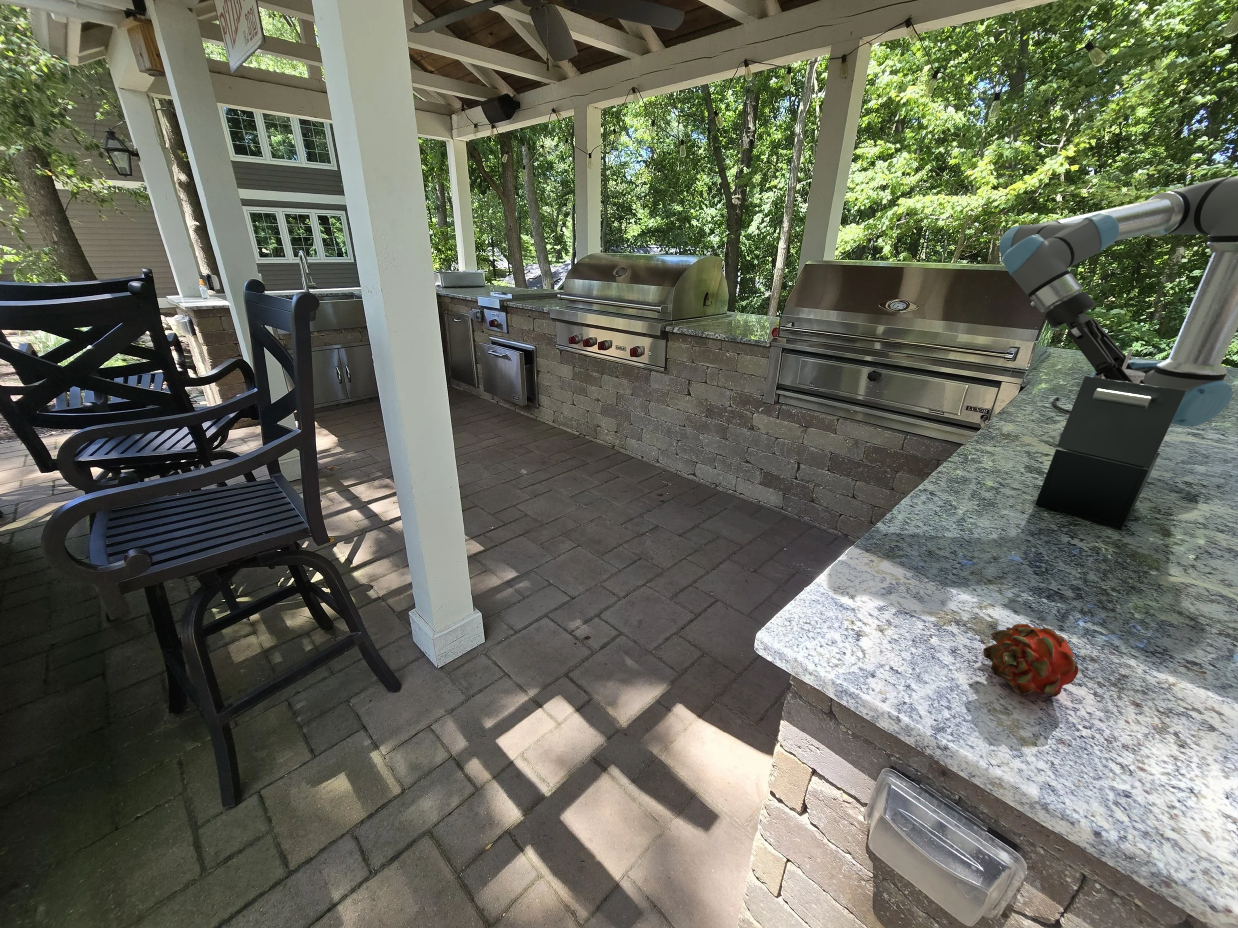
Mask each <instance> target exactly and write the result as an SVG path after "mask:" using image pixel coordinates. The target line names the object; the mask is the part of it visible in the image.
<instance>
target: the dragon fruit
mask: <svg viewBox="0 0 1238 928" xmlns="http://www.w3.org/2000/svg"><path fill="white" fill-rule="evenodd" d="M990 636H991V638H992V640H993V641H994V642H995V643H993V644H991V645H989V646H987V647H984V648H983V657H984V659H988V660H989V661H990V662H991V666H990V669H991V672H992V673H993V675H994V676H996V677H998V678H1000V679H1002V680H1004V681H1005V682H1006V683H1007V684H1008V685H1010V686H1011V687H1012V691H1013V692H1015V693H1017V694H1020V695H1029V694H1032V693H1033V692H1034V691H1035V692H1037V693H1038V694H1040V695H1047V697H1048V698H1056V697H1057V696H1059V695H1061V693H1062V690H1063V687H1064V686H1066V685H1069V684H1071V683H1073V682H1074V680H1075V679H1076V677H1077V676H1078V674H1079V666H1078V664H1077V661H1076V660H1075V659H1074V657H1075V656H1074V653H1073V651H1072V649H1071V647H1070V645H1069V642H1068V641H1067V640H1066V639H1065V638H1064V636H1063V635H1059V634H1058V633H1057V632H1055V630H1053V629H1052V628H1050V627H1042V628H1039V627H1037V626H1035V627H1032V626H1031V625H1029V623H1016V624H1013V625H1012V626H1011V627H1006V628H1005V629H997V630H994V631H993V632H991V634H990Z"/></svg>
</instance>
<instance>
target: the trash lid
mask: <svg viewBox="0 0 1238 928" xmlns="http://www.w3.org/2000/svg"><path fill="white" fill-rule="evenodd" d="M1185 393H1186V390H1180V389H1173V388H1166V387H1159V386H1152V385H1145V384H1138V383H1131V382H1124V381H1117V380H1110V379H1103V378H1096V377H1093V376H1089V375H1085V376H1084V377H1083V380H1082V382H1081V385H1080V387H1079V390H1078V391H1077V394H1076V396H1075V400H1074V402H1073V404H1072V407H1071V410H1070V411H1071V412H1070V413H1068V414H1069V415H1068V417H1067V420H1066V422H1065V424H1064V427H1063V429H1062V431H1061V435H1060V436H1059V439H1058V442H1057V444H1056V448H1063V449H1067V450H1071V451H1076V452H1080V453H1085V454H1089V455H1093V456H1098V457H1102V458H1106V459H1111V460H1115V461H1120V462H1124V463H1128V464H1133V465H1137V466H1141V467H1146V468H1150V467H1151V465H1152V463H1153V461H1154V458H1155V456H1156V454H1157V452H1158V453H1159V450H1160V448H1161V446H1162V444H1163V441H1164V439H1165V437H1166V435H1167V433H1168V431H1169V428H1170V427H1171V425H1172V424H1171V422H1172V420H1173V418H1174V416H1175V414H1176V412H1177V410H1178V408H1179V406H1180V403H1181V401H1182V399H1183V397H1184V395H1185Z"/></svg>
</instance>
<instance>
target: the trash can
mask: <svg viewBox="0 0 1238 928" xmlns="http://www.w3.org/2000/svg"><path fill="white" fill-rule="evenodd" d="M1159 456H1160V452H1159V451H1158V452H1157V454H1156V456H1155V458H1154V461H1153V463H1152V465H1151V467H1150V468H1146V467H1141V466H1137V465H1133V464H1128V463H1124V462H1120V461H1115V460H1111V459H1106V458H1102V457H1098V456H1093V455H1089V454H1085V453H1080V452H1076V451H1071V450H1067V449H1063V448H1058V447H1056V449H1055V451H1054V453H1053V456H1052V459H1051V460H1050V464H1049V467H1048V469H1047V471H1046V475H1045V476H1044V480H1043V482H1042V485H1041V487H1040V490H1039V493H1038V495H1037V498H1036V501H1035V502H1034V503H1035V506H1039V507H1042V508H1044V509H1048V510H1052V511H1055V512H1057V513H1061V514H1065V515H1068V516H1072V517H1076V518H1078V519H1082V520H1084V521H1088V522H1091V523H1095V524H1098V525H1102V526H1104V527H1108V528H1111V529H1115V530H1118V531H1122V529H1123V528H1124V526H1125V525H1126V522H1127V521H1128V520H1129V518H1130V517H1131V514H1132V512H1133V511H1134V509H1135V507H1136V505H1137V503H1138V501H1139V499H1140V496H1141V494H1142V492H1143V490H1144V488H1145V486H1146V484H1147V482H1148V480H1149V478H1150V475H1151V473H1152V471H1153V469H1154V468H1155V467H1154V466H1155V465H1156V463H1157V460H1158V459H1159Z"/></svg>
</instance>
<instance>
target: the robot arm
mask: <svg viewBox="0 0 1238 928" xmlns="http://www.w3.org/2000/svg"><path fill="white" fill-rule="evenodd" d="M1170 235H1171V236H1172V235H1196V236H1197V235H1198V236H1199V235H1200V236H1204V235H1206V236H1208V235H1209V236H1208V239H1207V242H1206V246H1208V247H1209V249H1210V250H1211V251H1212V253H1211V255H1210V258H1209V261H1208V263H1207V265H1206V267H1205V270H1204V272H1203V275H1202V277H1201V280H1200V282H1199V284H1198V287H1197V289H1196V291H1195V294H1194V296H1193V298H1192V301H1191V303H1190V307H1189V308H1188V310H1187V313H1186V315H1185V317H1184V319H1183V323H1182V324H1181V327H1180V330H1179V332H1178V334H1177V336H1176V339H1175V341H1174V344H1173V346H1172V349H1171V351H1170V354H1169V356H1168V358H1166V359H1164V360H1163V361H1157V360H1147V359H1132V357H1130V359H1129V361H1128V364H1127V366H1126V369H1129V370H1135V371H1140V372H1143V373H1145V376H1144V379H1142V380H1141V381H1140V382H1139V384H1145V385H1152V386H1159V387H1166V388H1173V389H1180V390H1186V393H1185V395H1184V397H1183V399H1182V401H1181V403H1180V406H1179V408H1178V410H1177V412H1176V414H1175V416H1174V418H1173V420H1172V422H1171V425H1176V426H1180V427H1188V428H1189V427H1196V426H1201V425H1203V424H1205V423H1207V422H1210V421H1211V420H1212V419H1214V418H1216V417H1217V416H1219V415H1220V414H1221V413H1222V412H1224V410H1225V409H1226V408H1227V406H1229V404H1230V403H1231V401H1232V398H1233V395H1234V390H1233V387H1232V386H1231V384H1229V383H1228V382H1227V381H1224V380H1225V378H1226V376H1227V373H1228V370H1227V369H1226V368H1225V367H1224V366H1223V364H1222V362H1223V360H1224V358H1225V356H1226V354H1227V351H1228V349H1229V348H1230V346H1231V343H1232V341H1233V339H1234V336H1235V334H1236V332H1237V331H1238V175H1237V176H1225V177H1219V178H1214V179H1209V180H1206V181H1202V182H1198V183H1196V184H1191V185H1187V186H1183V187H1180V188H1176V189H1171V190H1168V191H1163V192H1160V193H1157V194H1155V195H1153V196H1151V197H1150V198H1149V199H1147V200H1143V201H1137V202H1133V203H1130V204H1129V203H1128V204H1124V205H1120V206H1114V207H1110V208H1106V209H1101V210H1095V211H1091V212H1087V213H1082V214H1077V215H1072V216H1068V217H1063V218H1059V219H1054V220H1049V221H1044V222H1040V223H1039V222H1038V223H1035V224H1021V225H1015V226H1012V227H1011V228H1009V229H1008V230H1006V232H1004V234H1003V235H1002V236H1001V238H1000V240H999V245H998V251H999V254H1000V255H1001V256H1002V258H1001V261H1002V264H1003V265H1004V267H1005V269H1006V270H1007V272H1008V274H1009V275H1010V277H1012V279H1014V281H1015V282H1016V283H1017V284H1018V286H1019V287H1020V288H1021V290H1022V291H1023V292H1024V293H1025V294H1026V295H1027V297H1028V298H1030V300H1031V301H1032V302H1031V303H1030V306H1031V307H1036V308H1037V309H1038V311H1039V312H1040V313H1044V314H1043V317H1044V319H1045V320H1046V321H1047V323H1048V324H1049V325H1050V326H1051V328H1052V329H1056V328H1060V327H1062V326H1063V325H1065V324H1066V327H1067V328H1068V330H1067V331H1066V335H1067V337H1069V338H1070V339H1071V340H1072V341H1073V343H1074V344H1075V345H1076V346H1077V348H1078V349H1079V350H1080V352H1081V353H1082V354H1083V356H1084V357H1085V359H1086V361H1088V363H1089V364H1090V366H1092V368H1093V369H1094V373H1093V376H1092V377H1096V378H1102V375H1103V376H1104V377H1105V378H1106V379H1110V380H1117V381H1124V382H1131V383H1133V382H1132V380H1131V379H1130V378H1129V377H1128V375H1127V374H1126V373H1125V372H1124V371H1123V369H1122V366H1123V364H1124V362H1125V359H1126V357H1127V355H1126V353H1124V352H1123V351H1122V350H1121V348H1120V347H1119V346H1118V345H1117V344H1116V343H1115V341H1114V340H1113V339H1112V338H1111V336H1110V335H1109V334H1108V333H1107V332H1106V331H1105V329H1104V328H1103V327H1102V326H1101V324H1100V323H1099V321H1098V320H1097V319H1096V318H1090V317H1089V316H1088V315H1087V314H1086V312H1087V313H1088V311H1091V310H1092V309H1093V308H1095V306H1096V303H1095V301H1094V300H1093V299H1092V297H1090V295H1089V294H1088V293H1087V292H1086V291H1082V290H1083V287H1084V286H1082V285H1081V283H1080V282H1079V281H1078V280H1077V278H1075V276H1074V275H1073V274H1072V273H1071V272H1070V270H1069V268H1071V267H1073V266H1075V265H1077V264H1078V263H1080V262H1083V261H1084V260H1087V259H1088V258H1090V257H1093V256H1095V255H1097V254H1099V253H1101V252H1102V251H1103V250H1105V249H1106V248H1109V247H1110V246H1112V245H1113V244H1114V243H1116V242H1117V241H1122V240H1127V239H1133V238H1136V237H1142V236H1147V237H1150V238H1157V237H1164V236H1170ZM1057 401H1060V396H1055V398H1053V400H1052V403H1051V404H1052V405H1053V407H1055V408H1056V409H1058V410H1060V411H1062V412H1065V413H1067V414H1070V412H1071V410H1069V409H1066V408H1064V407H1061V406H1059V405H1058V404H1057V403H1056V402H1057Z"/></svg>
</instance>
